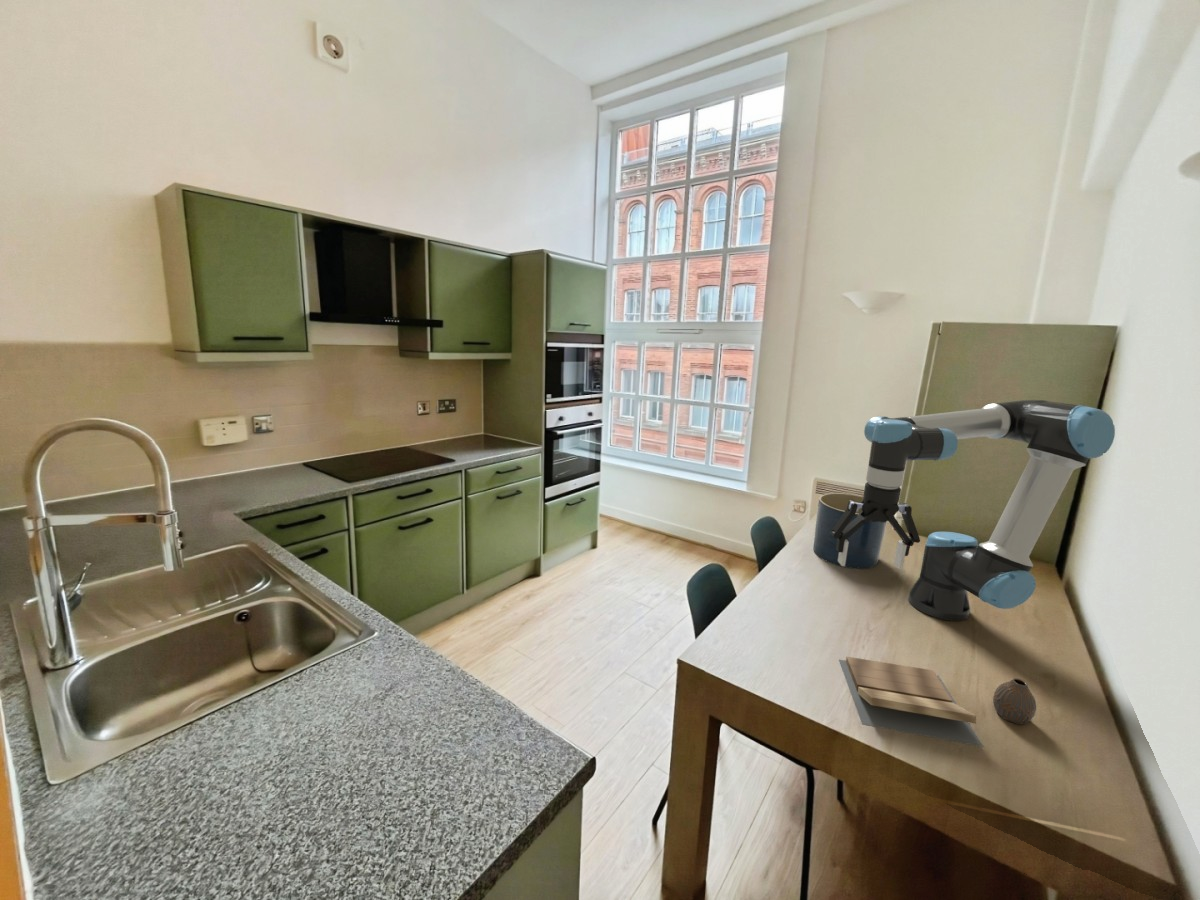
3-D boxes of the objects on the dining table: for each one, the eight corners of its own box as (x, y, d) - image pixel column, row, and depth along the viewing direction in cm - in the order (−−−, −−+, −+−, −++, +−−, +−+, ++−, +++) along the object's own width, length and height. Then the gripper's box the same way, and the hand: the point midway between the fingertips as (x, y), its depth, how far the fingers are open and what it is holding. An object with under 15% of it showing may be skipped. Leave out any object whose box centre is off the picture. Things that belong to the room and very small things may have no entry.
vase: (981, 705, 108) (990, 671, 106) (1010, 704, 108) (1020, 670, 106) (1009, 730, 101) (1019, 694, 99) (1040, 729, 102) (1051, 693, 100)
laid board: (932, 675, 116) (933, 670, 116) (951, 706, 107) (952, 700, 106) (845, 661, 120) (846, 656, 120) (856, 690, 111) (857, 684, 110)
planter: (805, 540, 191) (811, 491, 186) (865, 545, 188) (873, 495, 184) (821, 566, 170) (830, 512, 165) (889, 572, 167) (900, 517, 162)
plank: (953, 710, 106) (953, 702, 106) (976, 723, 97) (976, 715, 97) (857, 693, 110) (858, 686, 110) (871, 705, 101) (871, 697, 101)
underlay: (938, 677, 116) (938, 675, 116) (983, 748, 97) (983, 746, 96) (838, 660, 121) (838, 659, 121) (861, 725, 101) (862, 724, 101)
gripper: (929, 482, 120) (913, 561, 125) (823, 477, 122) (813, 555, 127) (947, 492, 113) (930, 575, 118) (835, 486, 115) (823, 569, 120)
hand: (869, 565), depth 122 cm, fingers open, 13 cm apart
